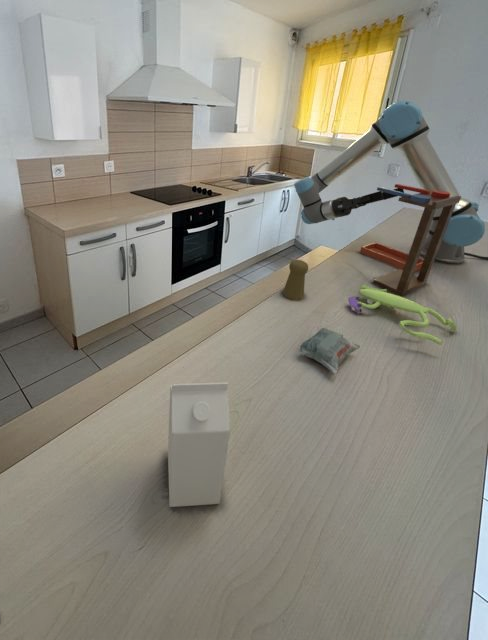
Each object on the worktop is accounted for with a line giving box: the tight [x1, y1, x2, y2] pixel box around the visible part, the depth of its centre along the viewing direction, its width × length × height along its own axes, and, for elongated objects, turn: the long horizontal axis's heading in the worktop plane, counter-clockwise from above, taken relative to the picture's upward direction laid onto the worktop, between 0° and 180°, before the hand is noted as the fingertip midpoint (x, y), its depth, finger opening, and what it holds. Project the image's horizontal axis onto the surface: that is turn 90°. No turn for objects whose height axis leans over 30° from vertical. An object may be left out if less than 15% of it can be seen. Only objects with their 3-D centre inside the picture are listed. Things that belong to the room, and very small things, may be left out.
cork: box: [282, 259, 309, 301], centre depth 95 cm, size 6×6×11 cm
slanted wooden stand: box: [372, 192, 462, 297], centre depth 100 cm, size 10×16×30 cm, turn 123°
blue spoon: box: [376, 186, 431, 203], centre depth 95 cm, size 15×4×1 cm, turn 25°
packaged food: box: [299, 327, 361, 376], centre depth 72 cm, size 9×12×5 cm
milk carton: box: [167, 382, 231, 508], centre depth 44 cm, size 7×7×19 cm
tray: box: [359, 242, 424, 273], centre depth 123 cm, size 19×10×3 cm, turn 33°
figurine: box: [347, 284, 457, 346], centre depth 87 cm, size 18×27×6 cm
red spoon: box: [394, 183, 450, 199], centre depth 101 cm, size 15×4×1 cm, turn 33°
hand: (393, 192), depth 108 cm, fingers open, 13 cm apart
